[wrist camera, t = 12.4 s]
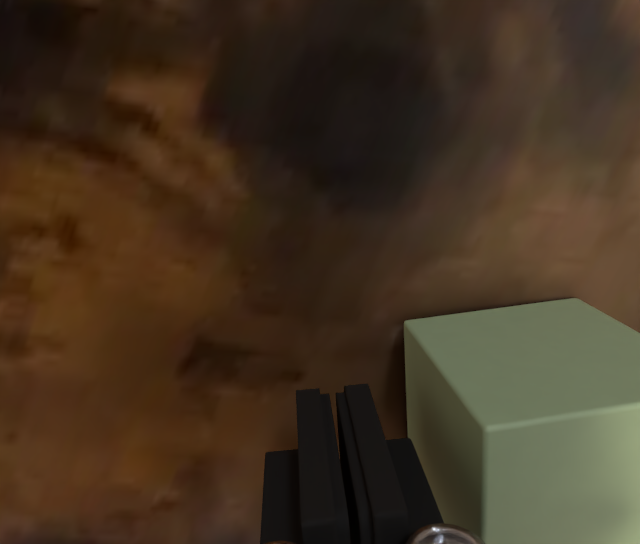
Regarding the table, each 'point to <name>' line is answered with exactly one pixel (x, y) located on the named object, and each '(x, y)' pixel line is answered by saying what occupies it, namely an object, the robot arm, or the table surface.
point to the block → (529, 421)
